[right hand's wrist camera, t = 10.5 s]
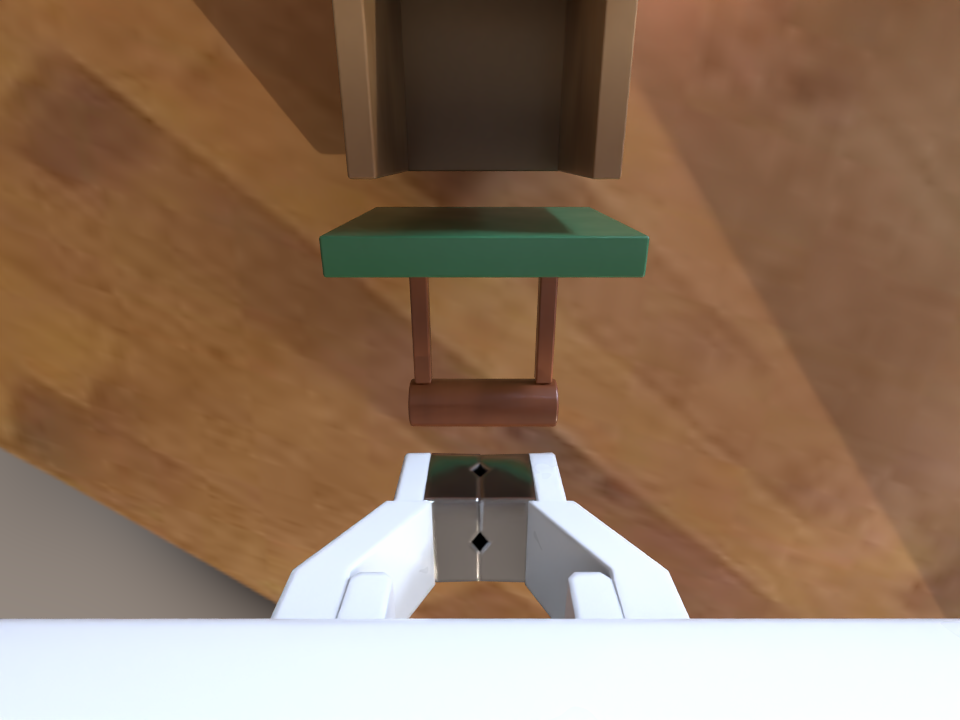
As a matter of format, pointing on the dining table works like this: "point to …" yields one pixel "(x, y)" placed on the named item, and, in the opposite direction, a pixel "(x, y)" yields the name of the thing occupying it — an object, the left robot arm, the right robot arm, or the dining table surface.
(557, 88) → the drawer
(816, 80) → the dining table surface
